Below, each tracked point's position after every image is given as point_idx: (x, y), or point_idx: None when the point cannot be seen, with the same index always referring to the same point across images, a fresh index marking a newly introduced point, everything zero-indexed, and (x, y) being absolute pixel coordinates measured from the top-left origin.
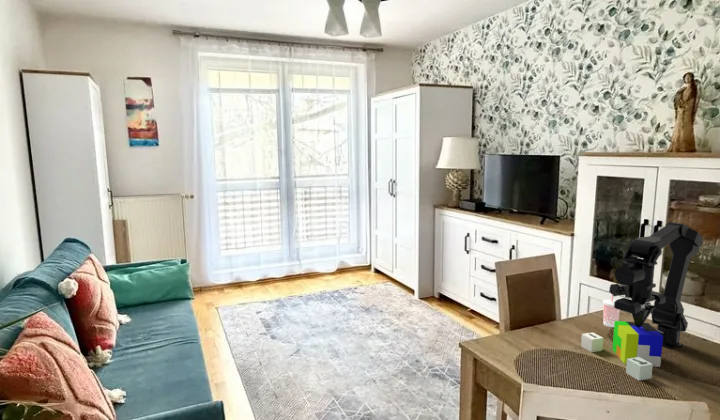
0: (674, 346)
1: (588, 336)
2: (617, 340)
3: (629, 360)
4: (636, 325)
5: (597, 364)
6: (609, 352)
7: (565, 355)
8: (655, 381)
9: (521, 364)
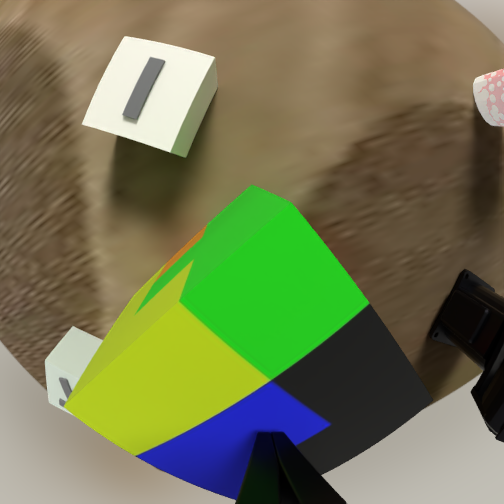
0: (443, 342)
1: (111, 81)
2: (195, 248)
3: (46, 368)
4: (252, 448)
5: (36, 225)
6: (193, 194)
7: (17, 103)
8: None
9: None
